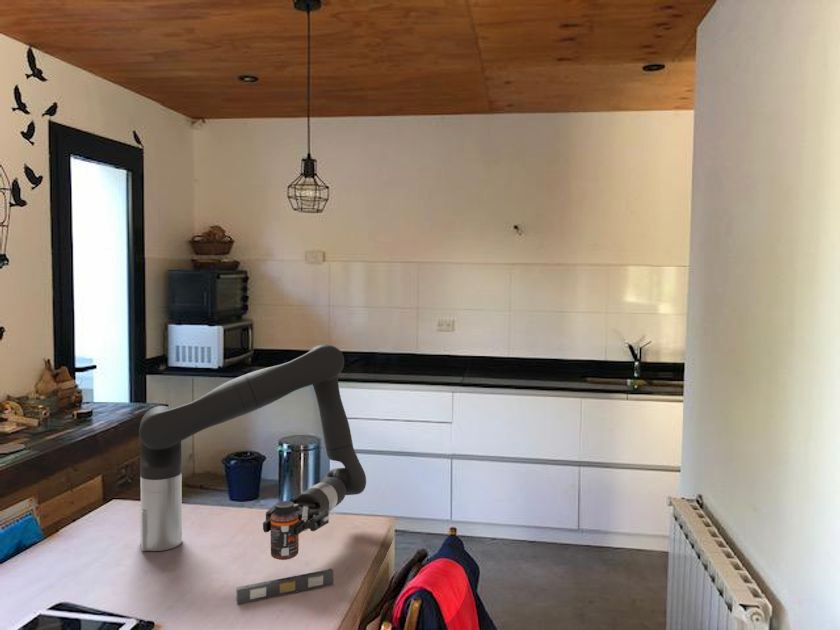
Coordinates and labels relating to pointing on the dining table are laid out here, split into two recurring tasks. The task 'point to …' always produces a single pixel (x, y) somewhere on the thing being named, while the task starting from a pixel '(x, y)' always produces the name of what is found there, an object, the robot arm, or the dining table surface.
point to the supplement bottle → (284, 531)
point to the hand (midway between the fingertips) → (278, 529)
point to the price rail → (284, 586)
